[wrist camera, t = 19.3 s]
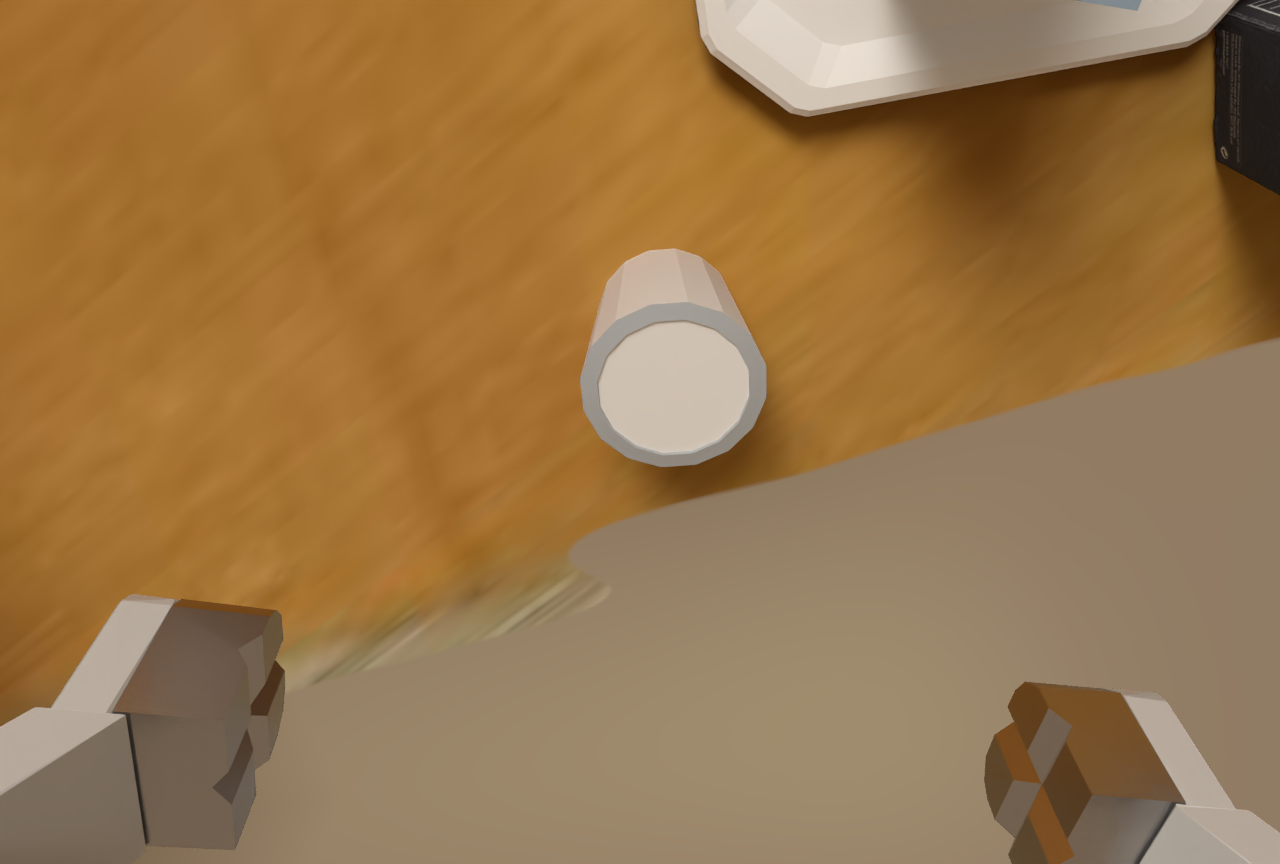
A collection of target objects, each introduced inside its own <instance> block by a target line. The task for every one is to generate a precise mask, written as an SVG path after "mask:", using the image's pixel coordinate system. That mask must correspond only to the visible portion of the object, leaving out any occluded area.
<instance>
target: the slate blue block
mask: <svg viewBox="0 0 1280 864" xmlns="http://www.w3.org/2000/svg"><path fill="white" fill-rule="evenodd" d="M1076 1H1082V2H1088V3H1094V4H1099V5H1105V6H1111V7H1117V8H1123V9H1129V10H1135V11H1138V8H1139V6H1140V3H1141V1H1142V0H1076Z"/></svg>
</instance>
